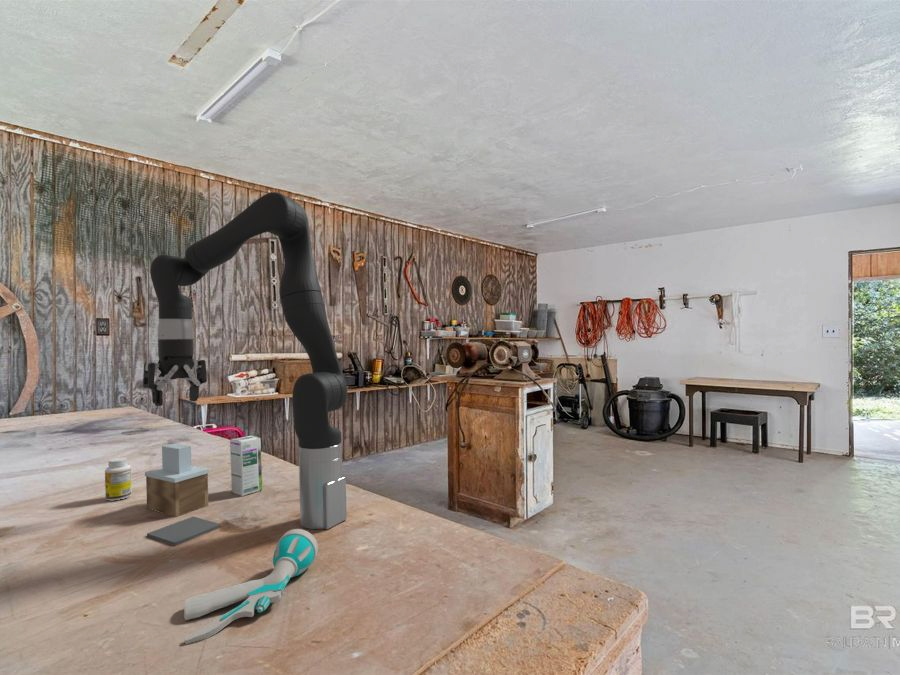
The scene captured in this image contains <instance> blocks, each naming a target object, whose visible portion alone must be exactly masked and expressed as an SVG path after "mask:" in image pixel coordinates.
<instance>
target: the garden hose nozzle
mask: <svg viewBox="0 0 900 675" xmlns="http://www.w3.org/2000/svg"><path fill="white" fill-rule="evenodd" d="M318 546H319V545H318V541H317V540H316V538H315V536H314V535H313V534H312V533H310V531H307V530H305V529H302V528H292V529H290V530H288V531H286V532H285V533H284V534H283V535H282V536H281V537H280V538H279V540H278V542H277V543H276V546H275V549H274V553H273V555H272V563H273V567H274V568H273V569H272V571H271V572H270V574H267V576H265V577H263V578H259V579H250V580H248V581H246V582H244V583H239V584H235V585H232V586H230V587H226V588H222V589H221V588H220V589H219V588H218V589H216V590H214V591H211V592H208V593H203V594H198V595H193V596H191V597H189V598H186V599H185V601H184V609H183V616H184V620H185V621H186V620H187V621H190V620H193V619H194V620H195V619H197V618H201V617H203V616H205V615H208V614H210V613H212V612H214V611H216V610H219V609H222V608H225V607H228V606H230V605H234V604H236V603H239V602H241V601H243V602H241V604H239V605H238V606H236V607H235V608H233V609H231V610H229V611H228V612H226V613H224V614H222V615H221V616H219V617H217V618H216V619H214V620H213V621H211V622H209V623H207V624H206V625H204V626H202V627H201V628H199V629H196V630H195V631H193V632H192V633H190V634H188V635H186V636H185V637H184V639H183V640H184V641H183V642H184V644H185V643H187V644H186V645H189V644H188V643H190V644H192V643H191V642H193V643H196V642H195V641H197V642H200V641H203V639H204V640H206V638H207V639H209V638H211V637H213V636H214V635H215V634H217V633H219V632H221V631H222V630H223V629H225V627H227V626H228V625H229V624H231V623H232V622H233V621H235V620H238V619H241V618H247V617H248V618H253V617H254V616H255V610H257V613H259V614H260V613H263V612H264V611H266V610H267V608H268V607H269V606H270V605H271V604H272V603H276V602H278V601H280V600H281V599H282V596H283V595H284V594H283V591H284V589H285V588H286V586H287V584H288V582H289V581H290V579H291V578H294V577H298V576H299V575H301V574H303V573H305V571H306V570H307V569H308V568H309V567H310V566H311V565H312V564H313V563H314V561H315V559H316V558H317V555H318V552H319V551H318V550H319V547H318ZM199 640H200V641H199Z"/></svg>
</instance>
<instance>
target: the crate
mask: <svg viewBox="0 0 900 675" xmlns="http://www.w3.org/2000/svg"><path fill="white" fill-rule="evenodd" d="M145 477H146V478H145V480H146V484H145V485H146V488H145V489H146V490H145V491H146V509H147V508H150V509H153V510H152V511H154V510H156V511H155V512H157V511H159V512H158V513H161V512H162V513H161V514H164V513H165V514H164V515H168V516H171V517H179V516H183V515H185V514H188V513H190V512H194V511H196V510H199V509H202V508H204V507H207V505H208V506H209V480H208V478H209V473H207V474H204V475H200V476H197V477H193V478H190V479H186V480H183V481H180V482H176V483H173V482H169V481H164V480H160V479H156V478H151V477H147V476H145ZM150 509H149V510H150Z"/></svg>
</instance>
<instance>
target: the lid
mask: <svg viewBox="0 0 900 675" xmlns="http://www.w3.org/2000/svg"><path fill="white" fill-rule="evenodd" d="M161 457H162V458H161V463H162V464H161V465H162V466H161V467H159V468H155V469H154V468H153V469H152V470H147V471H145V472H144V477H146V476H147V477H151V478H156V479H160V480H164V481H169V482H173V483H176V482H180V481H183V480H186V479H190V478H193V477H197V476H200V475H204V474H207V473H208V474H209V473H210V469H209V468H205V467H200V466H195V465H192V446H191V445H187V444H179V443H171V444H166V445H162V446H161Z"/></svg>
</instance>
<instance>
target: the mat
mask: <svg viewBox="0 0 900 675" xmlns="http://www.w3.org/2000/svg"><path fill="white" fill-rule="evenodd" d="M221 527H222V524H221V523H219V522H216V521H215V522H214V521H211V520H208V519H204V518H201V517H197V516H191V517H188V518H187V517H186V518H185V519H183V520H179V521H177V522H175V523H171V524H168V525H166V526H164V527H160V528H157V529H155V530H152V531H150V532H146V537H148V538H150V539H153V540H157V541H160V542H163V543H166V544H169V545H171V546H178V545H181V544H183V543H185V542H187V541H190V540H193V539H195V538H197V537H200V536H203V535H205V534H208V533H210V532H212V531H214V530H217V529H219V528H221Z"/></svg>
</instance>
